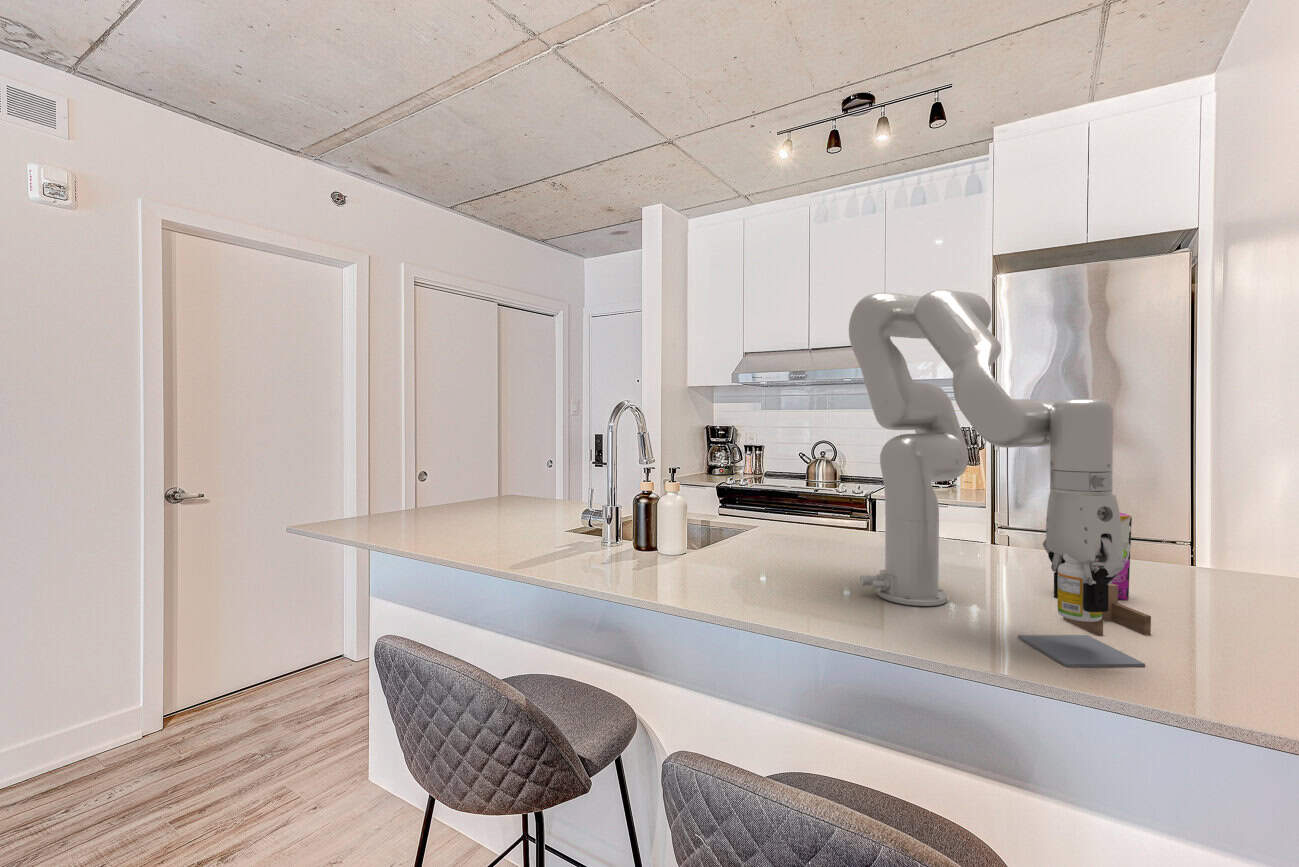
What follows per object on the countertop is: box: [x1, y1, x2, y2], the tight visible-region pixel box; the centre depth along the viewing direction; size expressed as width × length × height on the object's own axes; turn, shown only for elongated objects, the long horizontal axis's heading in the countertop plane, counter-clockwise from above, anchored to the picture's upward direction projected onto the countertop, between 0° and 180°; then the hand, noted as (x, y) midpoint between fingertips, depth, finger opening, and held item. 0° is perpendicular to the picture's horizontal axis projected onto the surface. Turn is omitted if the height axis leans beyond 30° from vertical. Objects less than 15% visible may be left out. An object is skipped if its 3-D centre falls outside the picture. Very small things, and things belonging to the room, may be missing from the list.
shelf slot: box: [1062, 584, 1152, 636], centre depth 99 cm, size 9×8×6 cm
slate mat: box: [1017, 634, 1146, 668], centre depth 89 cm, size 11×11×1 cm
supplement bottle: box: [1057, 554, 1102, 622], centre depth 89 cm, size 5×5×10 cm
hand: (1080, 603), depth 89 cm, fingers closed on supplement bottle, 5 cm apart
